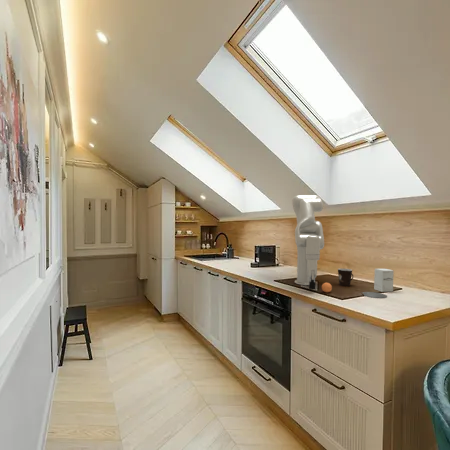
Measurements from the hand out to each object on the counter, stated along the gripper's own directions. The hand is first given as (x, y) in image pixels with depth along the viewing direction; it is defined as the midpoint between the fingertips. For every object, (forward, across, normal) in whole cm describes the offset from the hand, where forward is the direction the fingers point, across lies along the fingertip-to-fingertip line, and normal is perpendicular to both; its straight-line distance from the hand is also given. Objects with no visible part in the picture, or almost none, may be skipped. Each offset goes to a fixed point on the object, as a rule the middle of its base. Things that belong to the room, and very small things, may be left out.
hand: (312, 288), depth 169 cm
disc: (+2, -1, +33) cm, 33 cm away
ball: (-1, 0, +8) cm, 8 cm away
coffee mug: (+2, -23, +21) cm, 31 cm away
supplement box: (+2, -15, +42) cm, 44 cm away
